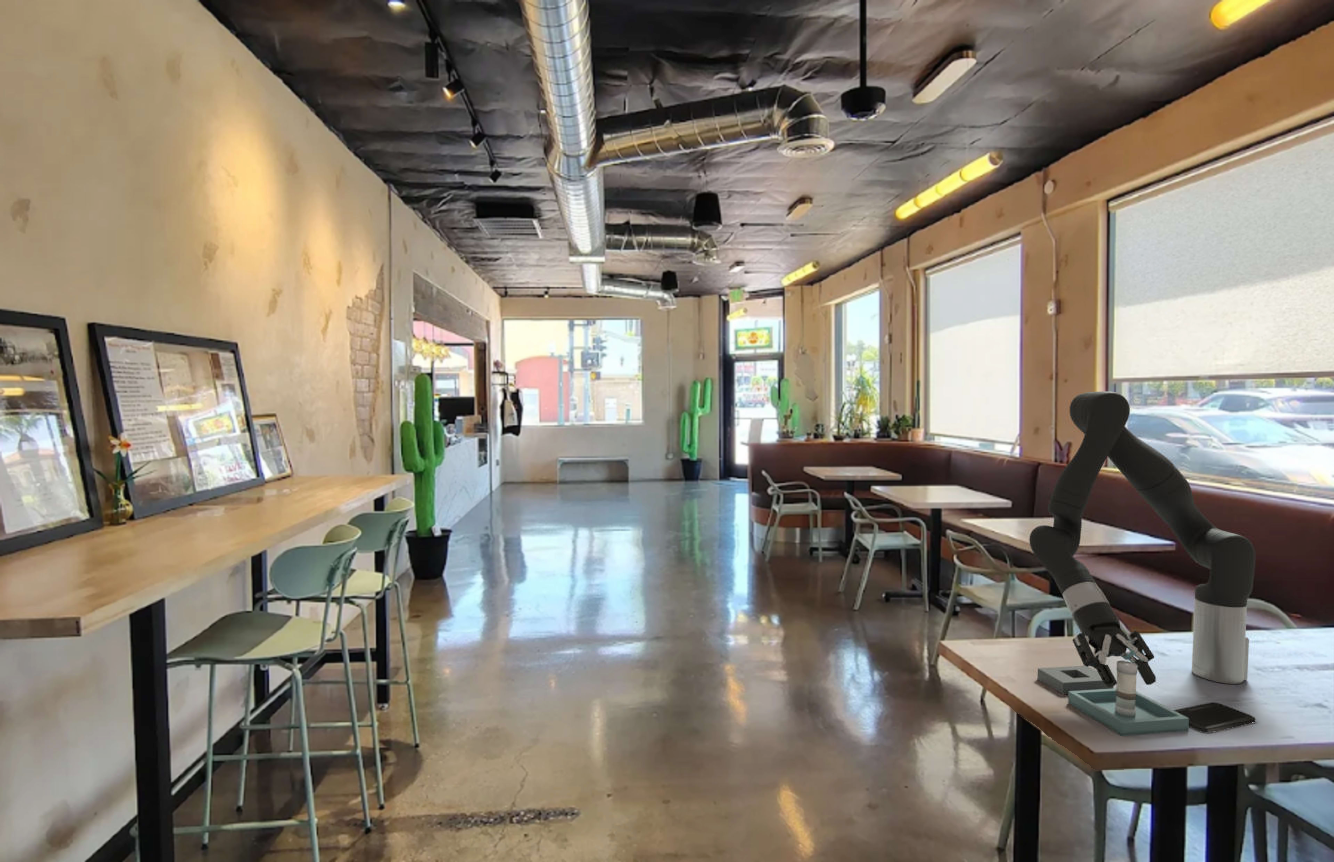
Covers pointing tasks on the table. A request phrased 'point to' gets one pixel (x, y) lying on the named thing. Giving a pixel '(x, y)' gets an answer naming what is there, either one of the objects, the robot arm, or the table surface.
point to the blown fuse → (1126, 689)
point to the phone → (1214, 717)
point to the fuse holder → (1071, 678)
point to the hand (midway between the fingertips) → (1132, 684)
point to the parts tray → (1146, 721)
